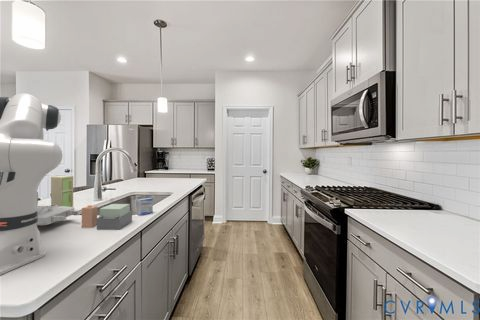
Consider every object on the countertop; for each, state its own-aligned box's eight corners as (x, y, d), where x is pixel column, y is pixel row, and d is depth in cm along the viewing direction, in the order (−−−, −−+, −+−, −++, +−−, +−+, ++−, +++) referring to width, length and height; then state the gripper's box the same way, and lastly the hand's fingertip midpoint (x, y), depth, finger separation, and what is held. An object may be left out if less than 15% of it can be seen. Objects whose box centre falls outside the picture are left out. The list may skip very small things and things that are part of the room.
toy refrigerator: (61, 216, 132) (61, 177, 131) (50, 215, 133) (50, 176, 133) (74, 212, 139) (74, 175, 139) (63, 211, 141) (63, 175, 140)
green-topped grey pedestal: (119, 229, 111) (119, 209, 110) (96, 229, 110) (96, 209, 110) (131, 221, 125) (132, 203, 124) (111, 220, 124) (112, 203, 124)
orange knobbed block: (91, 227, 113) (91, 206, 113) (81, 227, 113) (81, 206, 113) (97, 224, 118) (97, 204, 117) (87, 224, 117) (87, 204, 117)
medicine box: (140, 215, 135) (140, 200, 135) (135, 214, 138) (135, 199, 138) (152, 213, 142) (153, 198, 141) (148, 212, 144) (148, 197, 144)
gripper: (22, 214, 104) (56, 214, 104) (56, 204, 124) (84, 204, 125) (22, 228, 104) (56, 229, 104) (56, 216, 124) (84, 216, 125)
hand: (71, 215), depth 115 cm, fingers open, 8 cm apart
